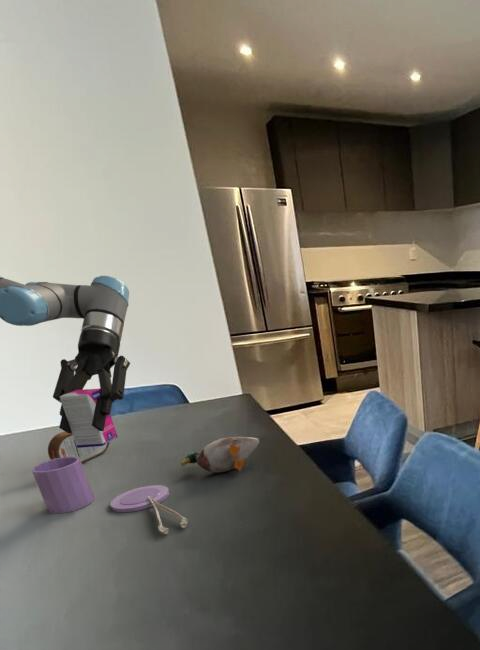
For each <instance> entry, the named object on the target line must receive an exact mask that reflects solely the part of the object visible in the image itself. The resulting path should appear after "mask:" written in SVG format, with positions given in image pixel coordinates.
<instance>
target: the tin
mask: <svg viewBox="0 0 480 650" xmlns="http://www.w3.org/2000/svg"><path fill="white" fill-rule="evenodd" d="M109 445H110V442H108V443H106V444H105V445H104V446H96V447H84V448H77V445H76V443H75V440H74V437H73V434H72V433H67V432H65V431H62V432H59V433H57V434H55V435H54V436H53V437H52V438H51V439H50V441H49V442H48V446H47V454H48V457H49V460H53V459H57V458H62V457H71V456H73V457H78V458H80V460H81V463H82V464H84V463H86V462H88V461H89V460H92V459H95V458H97V457H99V456H101V455H103V454H104V453H105V452H106V451H107V450H108V448H109Z"/></svg>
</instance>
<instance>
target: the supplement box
mask: <svg viewBox="0 0 480 650" xmlns="http://www.w3.org/2000/svg"><path fill="white" fill-rule="evenodd" d="M100 395H101V389H100V388H85V389H84V388H83V390H75V391H72V392H70V393H67V394H64V395H62V396H60V400H61V403H60V404H62V406H63V408H64V411H65V414H66V417H67V420H68V423H69V425H70V428H71V431H72V434H73V437H74V440H75V443H76V445H77V448H84V447H96V446H104V445H105V444H106V443H108V442H109V443H110V442H111V441H113V440H115V439H117V438H118V433H117V430H116V427H115V424H114V420H113V416H112V414H111V413H110V414H109V415H107V416H106V421H105V426H104V431H99V430H98V429H96V428H95V427H93V426H92V421H93V417H94V412H95V407H96V402H97V398H102V399H103V397H102V396H100Z"/></svg>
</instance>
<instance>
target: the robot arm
mask: <svg viewBox="0 0 480 650" xmlns="http://www.w3.org/2000/svg"><path fill="white" fill-rule="evenodd" d="M129 298H130V290H129V288H128V286H127V285H126V284H125V283H124V282H123V281H121V280H120V279H118V278H116V277H114V276H110V275H99V276H96V277H94V278H93V279H92V282H91V283H90V285H88V284H70V283H69V284H68V283H57V282H48V281H30V282H26V283H25V284H24V283H20V282H18V281H15V280H11V279H8V278H5V277H3V276H0V319H1V320H2V321H3V322H6V323H7V324H10V325H12V326H16V327H17V326H18V327H19V326H20V327H23V326H24V327H30V326H32V327H33V326H35V325H39V324H41V323H45V322H51V321H54V320H55V321H56V320H59V319H83V321H82V325H81V328H80V334H79V338H78V342H77V350H78V353H76V355H75V357H74V359H70V360H67V359H65V358H64V359H63V358H62V359H61V360H60V372H59V373H58V374H59V375H58V378H57V380H56V385H55V387H54V388H55V389H54V391H53V395H52V398H53V399H54V400H55V401H57V402H59V403H60V409H59V416H61V418H60V423H59V429H60V430H62V431H63V432H67V433H72V431H71V428H70V425H69V423H68V420H67V417H66V414H65V411H64V408H63V406H62V403H61V400H60V396H62V395H64V394H67V393H70V392H72V391H75V390H84V388H85V386H86V384H87V382H88V381H90V380H91V379H92V377H93V376H95V375H97V377H98V382H99V383H98V384H99V389H101V395H100V396H102V397H103V399H102V398H97V402H96V407H95V412H94V417H93V421H92V426H93V427H95V428H96V429H98V430H99V431H104V426H105V421H106V416H107V415H109V414H111V412H112V407H113V403H114V402H115V401H117V400H118V401H122V400H123V399H124V395H125V387H126V379H127V378H126V377H127V371H128V368H129V367H130V365H131V362H130V361H129V360H128V359H127V358H126V357H125V356H124V355H119V353H120V348H121V341H122V337H123V331H124V326H125V321H126V315H127V311H128V307H129V300H130V299H129ZM112 368H113V374H112V371H111V369H112Z"/></svg>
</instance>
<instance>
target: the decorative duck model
mask: <svg viewBox="0 0 480 650" xmlns="http://www.w3.org/2000/svg"><path fill="white" fill-rule="evenodd" d="M259 443H260V439H259V438H257V437H252V436H241V435H240V436H238V435H235V436H224V437H220V438H216V439H214V440H212V441H211V442H210V443H208V444H207V445H205V447H203V449H202V450H201V452H200V453H199V452H197V451H193V452H190V453H188V454H187V455H186V457H185V458H184V459H183V461H181V462H180V465H181V467H185V466H186V465H188V464H197V465H198V466H199V467H200V468H202V469H204V470H205V471H208V472H211V473H225V472H230V471H233V470H235V469H236V470H238V472H239V473H240V472H241V471H242V468H243V467H244V465H245V463H246V462H247V461H248V459H249V458H250V457H251V456H252V455H253V453H254V452H255V450H256V449H257V448H258V445H259Z"/></svg>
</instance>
